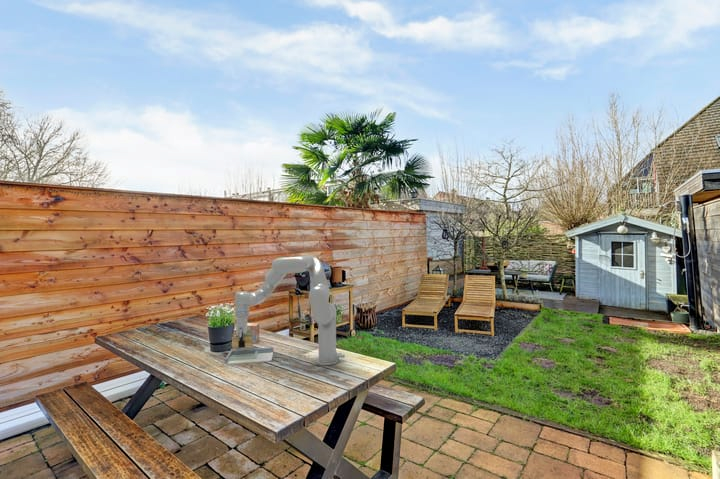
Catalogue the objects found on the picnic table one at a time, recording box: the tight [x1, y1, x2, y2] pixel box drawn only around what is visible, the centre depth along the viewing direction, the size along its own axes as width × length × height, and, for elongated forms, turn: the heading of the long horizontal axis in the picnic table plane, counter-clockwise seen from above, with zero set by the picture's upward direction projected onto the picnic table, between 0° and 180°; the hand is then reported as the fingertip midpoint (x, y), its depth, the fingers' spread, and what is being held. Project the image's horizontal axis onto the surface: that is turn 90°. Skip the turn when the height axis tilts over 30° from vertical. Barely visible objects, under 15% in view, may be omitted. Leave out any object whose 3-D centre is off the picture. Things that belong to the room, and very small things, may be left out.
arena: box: [224, 346, 274, 365], centre depth 190 cm, size 24×14×3 cm, turn 100°
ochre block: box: [231, 334, 253, 349], centre depth 191 cm, size 5×10×6 cm, turn 100°
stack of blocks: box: [234, 322, 260, 345], centre depth 218 cm, size 21×6×12 cm, turn 86°
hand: (242, 345), depth 191 cm, fingers closed on ochre block, 5 cm apart
